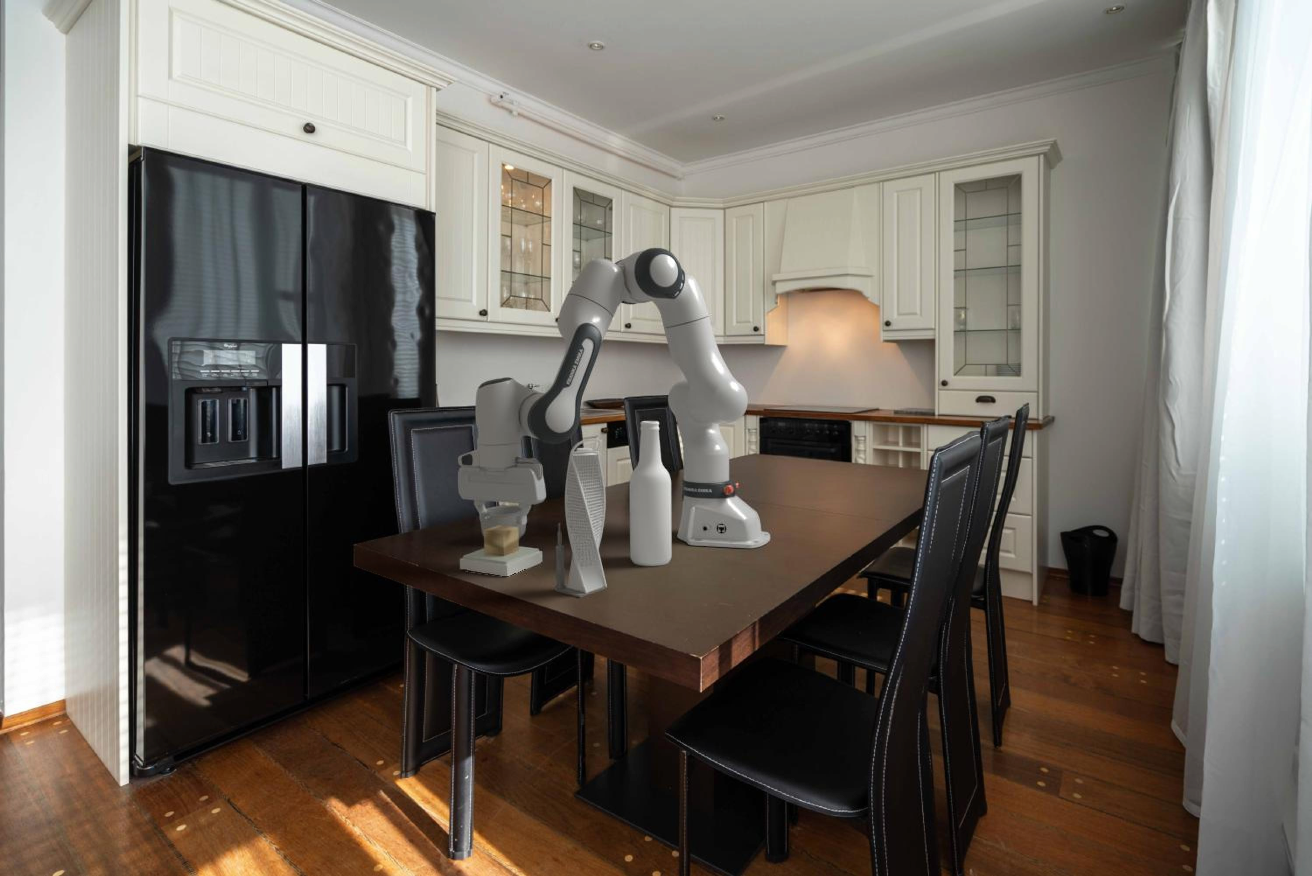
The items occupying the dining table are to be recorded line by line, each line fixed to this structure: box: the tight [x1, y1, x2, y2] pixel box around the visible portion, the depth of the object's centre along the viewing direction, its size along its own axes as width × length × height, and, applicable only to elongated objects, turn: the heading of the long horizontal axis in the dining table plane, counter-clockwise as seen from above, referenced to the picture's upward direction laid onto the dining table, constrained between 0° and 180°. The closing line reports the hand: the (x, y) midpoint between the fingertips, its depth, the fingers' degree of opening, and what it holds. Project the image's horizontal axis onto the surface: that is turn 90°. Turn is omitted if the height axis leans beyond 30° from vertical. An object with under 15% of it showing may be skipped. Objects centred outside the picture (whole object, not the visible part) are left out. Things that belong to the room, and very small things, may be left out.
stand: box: [459, 546, 543, 577], centre depth 143 cm, size 12×12×3 cm
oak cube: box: [483, 525, 520, 556], centre depth 143 cm, size 5×5×5 cm
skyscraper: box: [553, 438, 608, 599], centre depth 127 cm, size 8×8×28 cm
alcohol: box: [629, 420, 673, 567], centre depth 145 cm, size 9×9×30 cm
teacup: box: [480, 504, 527, 540], centre depth 166 cm, size 14×11×8 cm
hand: (503, 522), depth 143 cm, fingers open, 8 cm apart
